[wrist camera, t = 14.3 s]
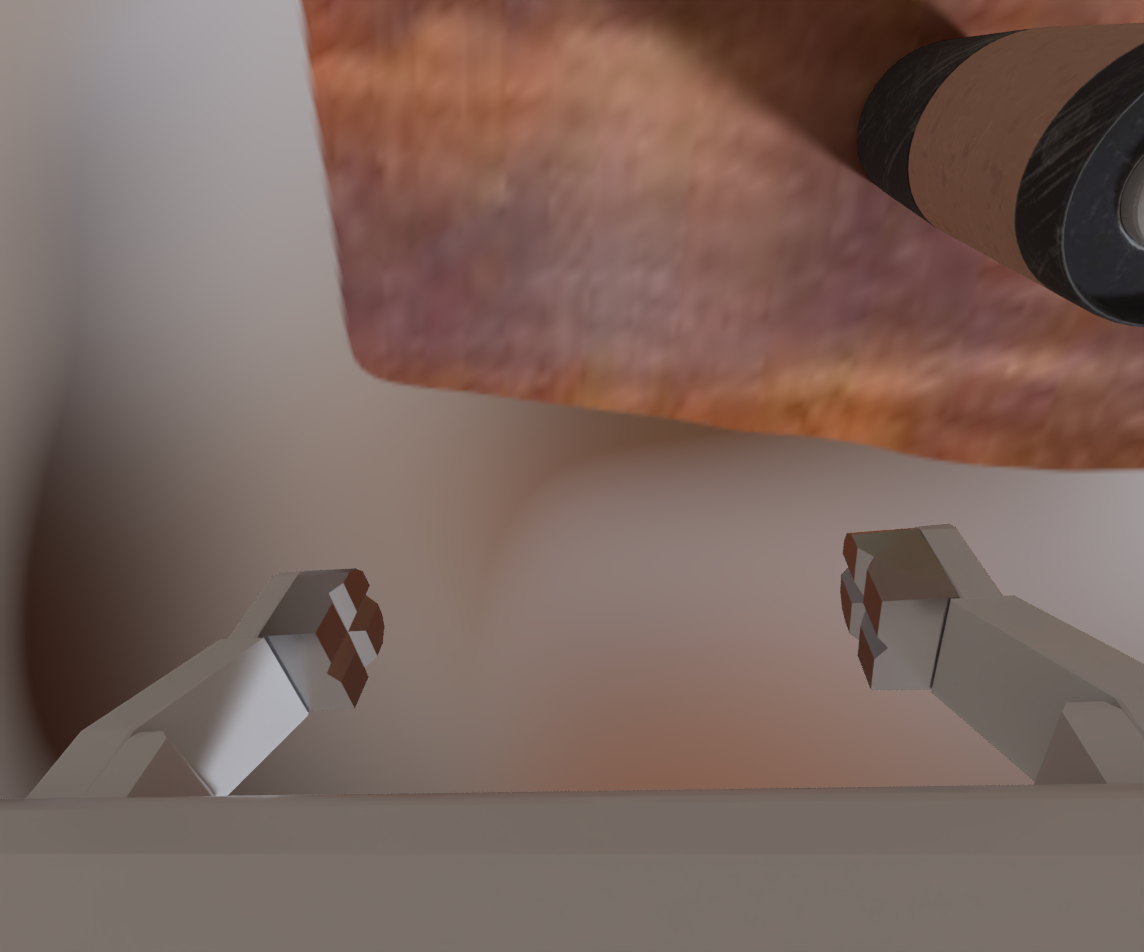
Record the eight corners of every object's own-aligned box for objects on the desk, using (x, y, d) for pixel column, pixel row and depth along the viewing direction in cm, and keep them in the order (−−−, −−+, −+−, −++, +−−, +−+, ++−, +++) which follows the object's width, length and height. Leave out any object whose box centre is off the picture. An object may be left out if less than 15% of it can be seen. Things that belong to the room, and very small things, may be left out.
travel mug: (844, 211, 36) (1024, 346, 19) (857, 48, 32) (1099, 41, 15) (993, 191, 35) (1321, 317, 18) (1025, 20, 31) (1486, -20, 14)
